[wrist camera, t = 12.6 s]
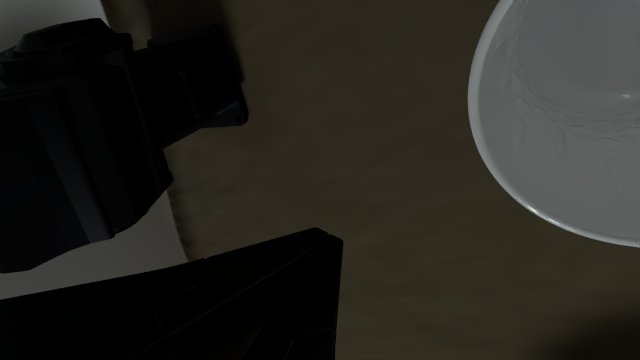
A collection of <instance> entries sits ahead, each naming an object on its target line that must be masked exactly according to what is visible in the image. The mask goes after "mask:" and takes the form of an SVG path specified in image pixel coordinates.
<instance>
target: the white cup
mask: <svg viewBox="0 0 640 360" xmlns="http://www.w3.org/2000/svg"><path fill="white" fill-rule="evenodd" d="M468 112H469V120H470V125H471V130H472V133H473V137H474V140H475V143H476V146H477V148H478V150H479V153H480V155H481V157H482V159H483V161H484V162H485V164H486V166H487V167H488V169H489V170H490V172H491V173H492V175H493V176H494V177H495V179H496V180H497V181H498V182H499V184H500V185H501V186H502V187H503V188H504V189H505V190H506V191H507V192H508V193H509V194H510V195H511V196H512V197H513V198H514V199H515V200H517V201H518V202H519V203H520V204H522V205H523V206H524V207H526V208H527V209H528V210H530V211H531V212H533V213H535V214H536V215H538V216H539V217H541V218H543V219H545V220H547V221H548V222H550V223H552V224H554V225H557V226H559V227H561V228H563V229H566V230H568V231H571V232H574V233H576V234H579V235H582V236H585V237H589V238H592V239H596V240H600V241H604V242H609V243H614V244H620V245H626V246H633V247H640V0H500V1H499V2H498V4H497V5H496V7H495V9H494V10H493V12H492V14H491V16H490V18H489V20H488V22H487V24H486V26H485V28H484V30H483V32H482V35H481V37H480V40H479V42H478V45H477V48H476V51H475V54H474V58H473V62H472V66H471V71H470V76H469V84H468Z"/></svg>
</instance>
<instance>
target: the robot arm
mask: <svg viewBox="0 0 640 360" xmlns="http://www.w3.org/2000/svg"><path fill="white" fill-rule="evenodd" d="M212 30H213V31H214V34H215V36H214V35H213V34H212ZM132 45H133V41H132V37H131V34H130V33H116V31H113V30H112V29H110V28H109V27H108V26H107V25H106V24H105V23H104V21H103V20H102V19H101V18H91V19H85V20H78V21H72V22H66V23H61V24H57V25H53V26H49V27H46V28H43V29H40V30H36V31H33V32H30V33H27V34H24V35H23V36H22V38H21V40H20V41H19V43H18V44H17V45H15V46H13V47H11V48H9V49H7V50H5V51H3V52H1V53H0V273H2V274H3V273H12V272H21V271H27V270H30V269H33V268H35V267H37V266H39V265H41V264H43V263H45V262H47V261H49V260H51V259H53V258H55V257H57V256H59V255H61V254H63V253H66V252H68V251H70V250H73V249H76V248H79V247H82V246H84V245H87V244H90V243H95V242H99V241H104V240H108V239H112V238H113V237H115V234H117V233H120V232H122V231H124V230H126V229H128V228H130V227H131V226H132V225H134V224H135V223H137V221H139V220H140V218H142V217H143V216H144V215H146V213H147V212H148V211H149V209H150V207H151V206H152V205H153V204H154V203H155V202H156V200H157V199H158V198H159V197H160V196H161V195H162V193H163V192H164V191H165V190H166V189H167V188H168V187H169V185H170V184H171V183H172V182H173V181H174V179H173V176H172V173H171V172H170V171H169V168H168V165H167V161H166V158H165V155H164V151H163V149H164V148H166V147H168V146H170V145H171V144H173V143H175V142H177V141H179V140H181V139H183V138H184V137H186V136H188V135H190V134H192V133H194V132H196V131H197V130H199V129H201V128H211V127H227V126H241V125H243V124H245V123H246V122H247V121H248V116H247V113H246V110H245V106H244V103H243V100H242V97H241V93H240V90H239V87H238V84H237V80H236V77H235V74H234V71H233V67H232V64H231V61H230V58H229V54H228V51H227V48H226V45H225V41H224V38H223V35H222V31H221V29H220V28H219V26H217V25H216V24H212V25H207V26H203V27H199V28H195V29H191V30H187V31H183V32H179V33H174V34H170V35H166V36H162V37H158V38H154V39H150V40H148V41H147V48H144V49H140V50H136V51H133V47H132ZM239 116H240V117H241V119H240V118H239ZM342 253H343V240H342V239H340V238H338V237H336V236H334V235H329V234H328V233H327V232H325V231H323V230H321V229H319V228H317V227H315V228H310V229H307V230H303V231H300V232H296V233H293V234H289V235H286V236H282V237H279V238H275V239H271V240H268V241H264V242H261V243H257V244H254V245H250V246H247V247H243V248H239V249H236V250H232V251H229V252H225V253H222V254H218V255H215V256H211V257H208V258H206V259H205V258H202V259H199V260H195V261H191V262H188V263H184V264H180V265H176V266H172V267H168V268H163V269H158V270H154V271H149V272H144V273H139V274H134V275H129V276H123V277H118V278H112V279H108V280H102V281H97V282H91V283H86V284H81V285H75V286H70V287H65V288H60V289H55V290H49V291H44V292H38V293H34V294H28V295H23V296H18V297H12V298H8V299H1V300H0V360H335V343H336V327H337V315H338V303H339V290H340V278H341V266H342Z"/></svg>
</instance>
